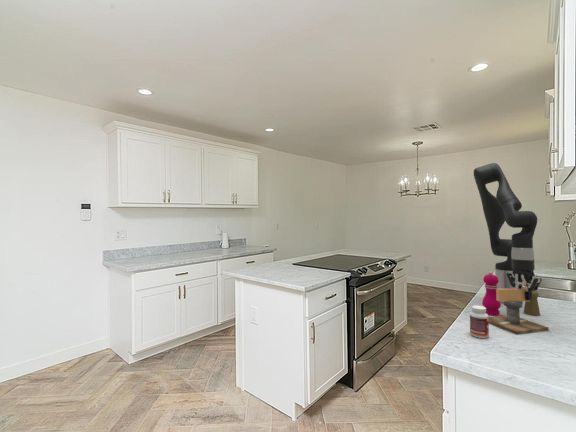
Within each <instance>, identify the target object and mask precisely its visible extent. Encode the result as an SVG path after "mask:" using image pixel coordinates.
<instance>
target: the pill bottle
mask: <svg viewBox="0 0 576 432" xmlns="http://www.w3.org/2000/svg"><path fill="white" fill-rule="evenodd" d="M485 312H486V308H485V307H484V306H483V305H472V307H471V311H470V312H469V333H470V335H471V336H472V337H475V338H477V339H478V338H479V339H487V338H489V336H490V327H489V325H490V324H489V317H490V316H489V315H488V314H486V313H485Z"/></svg>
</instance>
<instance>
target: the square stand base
mask: <svg viewBox="0 0 576 432" xmlns="http://www.w3.org/2000/svg"><path fill="white" fill-rule="evenodd" d="M520 309H521V308H512V307H508V306H506V314H502V315H497V316H494V315H492V316H488V317H489V325H492V326H494V327H496V328H499V329H502V330H503V331H506V332H509V333H511V334H513V335H515V336H516V335H523V334H531V333H539V332H547V331H549V327H548V326H545V325H542V324H540V323H537V322H533V321H531V320H528V319H525V318H523V317H521V315H520V314H521V313H520V311H521V310H520Z"/></svg>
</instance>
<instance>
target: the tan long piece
mask: <svg viewBox="0 0 576 432" xmlns="http://www.w3.org/2000/svg"><path fill="white" fill-rule="evenodd" d="M496 300H497V301H499V302H500V303H501V302H504V303H503V306H505V307H507V306H508V307H512V308H520V309H521V308H523V302H524V303H525V302H530V301H527V300H525V286H523V287H522V288H496Z"/></svg>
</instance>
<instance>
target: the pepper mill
mask: <svg viewBox="0 0 576 432" xmlns="http://www.w3.org/2000/svg"><path fill="white" fill-rule="evenodd" d="M482 280H483V282H484V288H485V294H484V297H483V299H482V301H481V304H482V305H481V306H483V307H485V308H486V312H485V313H486V314H488V316H500V315H501V313H500V310H499V309H500V308H501V306H502V305H501V304H502V303H501V302H499V301H497V300H496V288H497V284H498V282H499V280H498V277H497V276H496V274H494V272H493V271H492V270H490V271H488V274H485V275H484V276H483V279H482Z"/></svg>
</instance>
